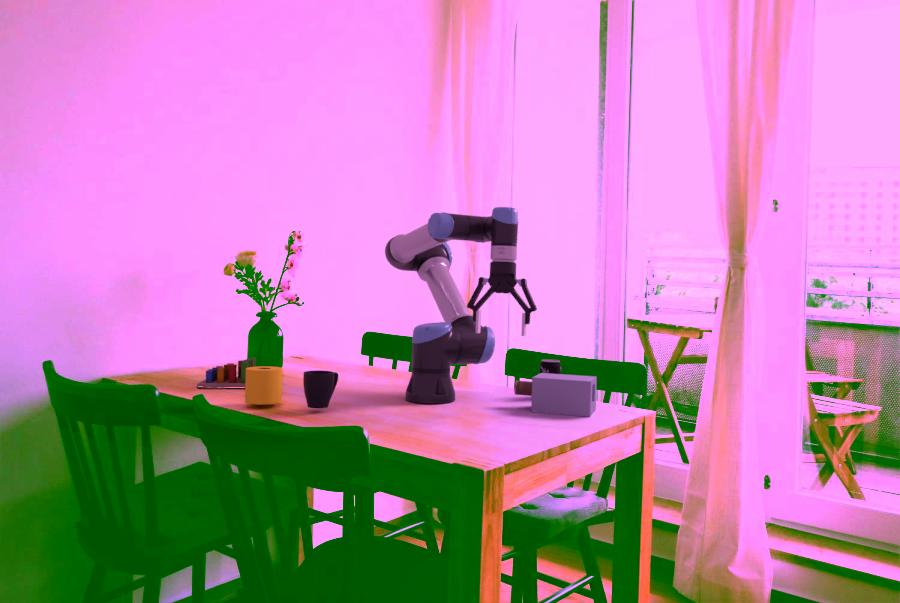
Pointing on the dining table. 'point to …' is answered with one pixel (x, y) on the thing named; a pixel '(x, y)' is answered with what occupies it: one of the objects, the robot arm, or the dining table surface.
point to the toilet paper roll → (263, 385)
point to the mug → (319, 387)
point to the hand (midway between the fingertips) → (500, 334)
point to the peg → (523, 388)
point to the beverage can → (550, 366)
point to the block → (564, 394)
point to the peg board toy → (228, 375)
